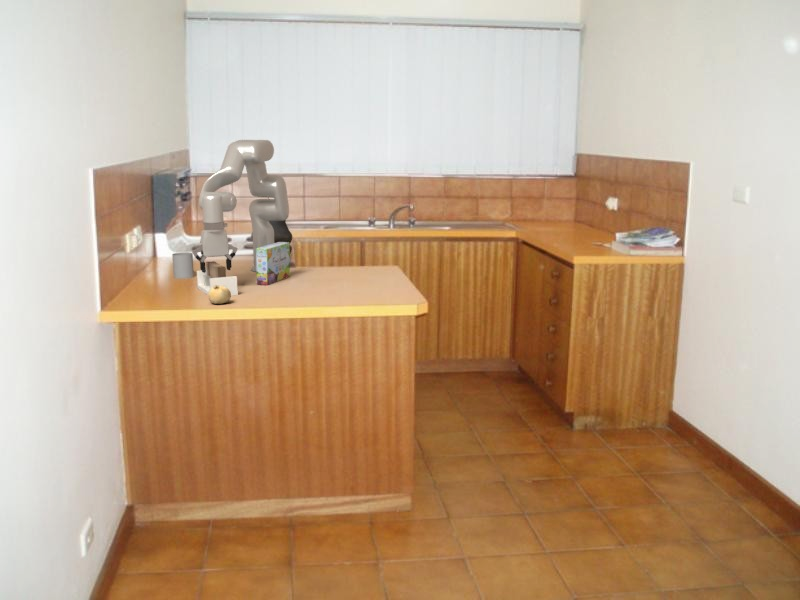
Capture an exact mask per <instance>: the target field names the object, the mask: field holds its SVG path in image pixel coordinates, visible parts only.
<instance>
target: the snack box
mask: <svg viewBox="0 0 800 600" xmlns="http://www.w3.org/2000/svg"><path fill="white" fill-rule="evenodd" d="M290 244H291V243H289V242H277V243H273V244H270V245H266V246H263V247H259V248H256V264H257V272H256V285H260V286H268V285H271V284H275V283H277V282H279V280H280V281H282V280H284V278H285V279H287V278H286V277H288V276H290V277H291V267H290V266H291V263H290V262H291V260H290V259H291V258H290V257H291V255H290V254H291V253H290ZM288 278H289V277H288Z"/></svg>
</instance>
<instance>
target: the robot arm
mask: <svg viewBox="0 0 800 600" xmlns="http://www.w3.org/2000/svg"><path fill="white" fill-rule="evenodd" d="M274 147H275V146H274V145H273V143H272V142H271V140H268V139H239V140H235V141H232V142H231V143H229V145H228V146H227V149H226V152H225V154H224V157H223V161H222V163H221V166H220V169H218V170H217V171H215V172H214V173H213V174H212V175H211V176H209V177H208V178H207V179H206V180H205V182H204V183H203V185H202V187H201V190H200V192H199V193H200V194H199V197H198V206H199V207H200V209H201V210H202V222H203V230H201V231H200V232H201V233H200V245H199V246H198V247H196V248H195V249H193V250H192V251H191V253H192V254H193V257H194V258H195V259H196V260H198V261H199V266H200V270H202V272H203V273H205V272H206V270H207V267H206V262H205V261H206V259H207V258H213V257H216V258H217V257H226V258H225V259H226V260H225V264H226V266H225V267H226V271H227V270H228V271H231V268H232V265H233V264H232V260H233V258H234V257H235V256H236V253H237V251H238V247H236V246H234V245H231V244H229V239H228V233H227V230H226V229H225V228H226V227H228V222H225V221H224V212H232V211H234V210H235V208H236V207H237V201H238V200H237V197H236V195H235V194H234V193H232V192H227V191H218V190H219V189H221V188H223V187H226V186H228V185H231V184H233V183H236V182H239V180H240V179H241V177H242V175H243V171H244V169H246V175H247V181H248V183H247V184H248V188H249V192H250V194H251V195H252V196H253V197H256V198H255V199H253V200H251V202H249V206H248V212H249V216H250V222H251V231H252V232H251V234H253V240H252V252H253V253H252V254H253V266H251V267H250V271H252V272H256V273H257V264H256V248H259V247H263V246H266V245H270V244H273V243H274V229H273V227H272V225H271V224H270V223H269V221H284V220H287V219H288V218H289V216H290V206H289V200H288V191H287V184H286V181H285V179H284V178H283V177H282V176H281V175H277V174H272V175H271V174H268V171H267V165H266V162H268V161H270V160H271V159H273V157H274V154H275V148H274ZM230 249H231V250H232V251H231V253H230ZM199 252H200V255H201V256H199V254H198V253H199Z"/></svg>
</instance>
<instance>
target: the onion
mask: <svg viewBox="0 0 800 600" xmlns="http://www.w3.org/2000/svg"><path fill="white" fill-rule="evenodd" d="M207 297H208V300H209V302H210V303H211V304H215V305H216V304H219V305H220V304H228V303H229V302H230V300H231V297H232V295H231V292H230V291H229V289H228V288H226V287H225V286H219V285H215V286H213V288H212V289H211V290H210V291H209V294H208V295H207Z"/></svg>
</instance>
